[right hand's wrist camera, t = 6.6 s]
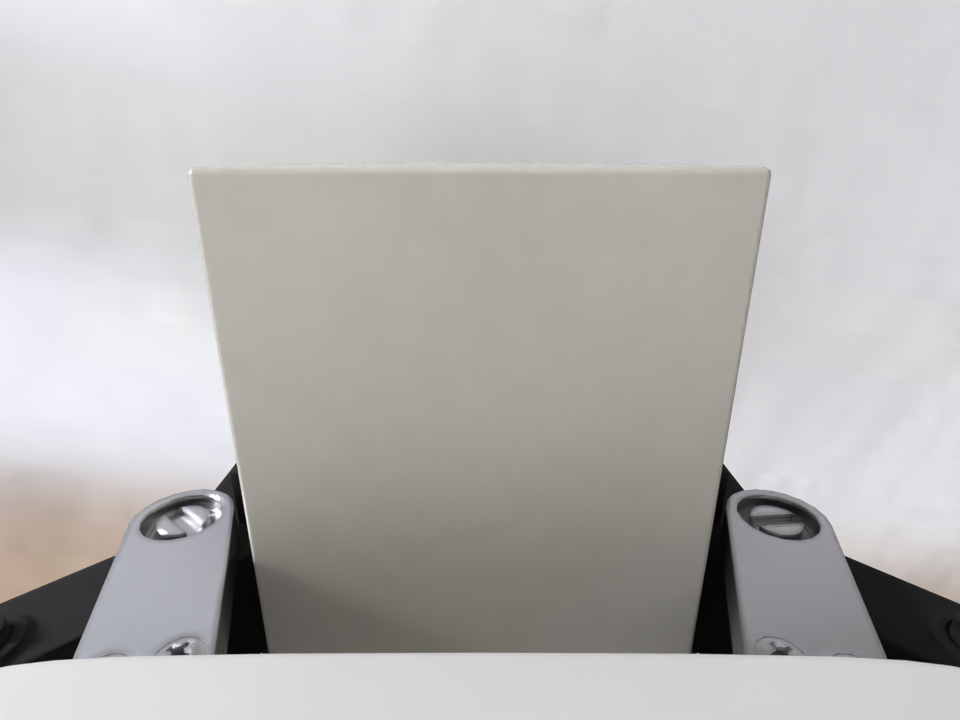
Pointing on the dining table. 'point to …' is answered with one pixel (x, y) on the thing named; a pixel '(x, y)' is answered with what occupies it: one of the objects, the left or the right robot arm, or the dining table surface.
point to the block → (479, 395)
